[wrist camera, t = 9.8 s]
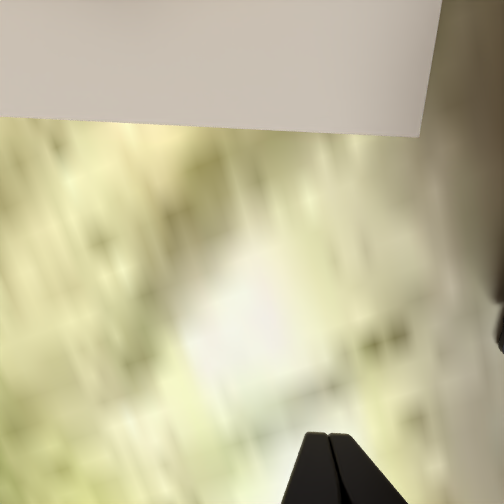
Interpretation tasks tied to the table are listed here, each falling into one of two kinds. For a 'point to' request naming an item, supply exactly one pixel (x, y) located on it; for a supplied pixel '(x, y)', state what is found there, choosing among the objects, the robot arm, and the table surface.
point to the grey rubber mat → (221, 63)
